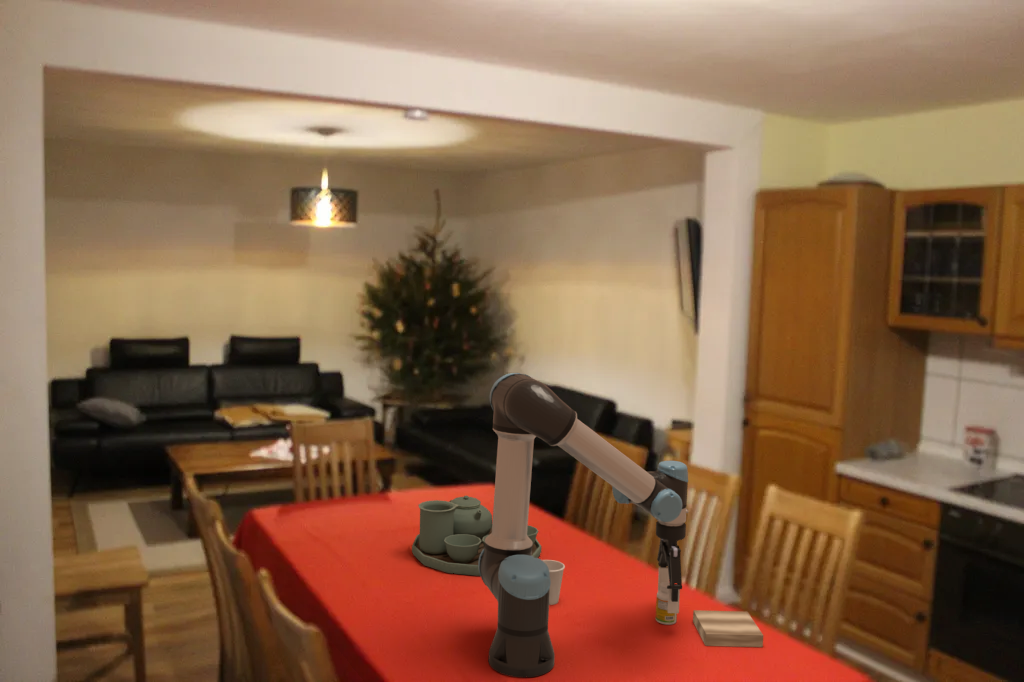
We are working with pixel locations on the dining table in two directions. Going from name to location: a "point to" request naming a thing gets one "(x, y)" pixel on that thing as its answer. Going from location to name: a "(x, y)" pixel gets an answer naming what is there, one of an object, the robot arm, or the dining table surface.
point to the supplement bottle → (664, 606)
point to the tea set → (456, 535)
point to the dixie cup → (555, 579)
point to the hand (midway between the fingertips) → (668, 601)
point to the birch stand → (727, 628)
